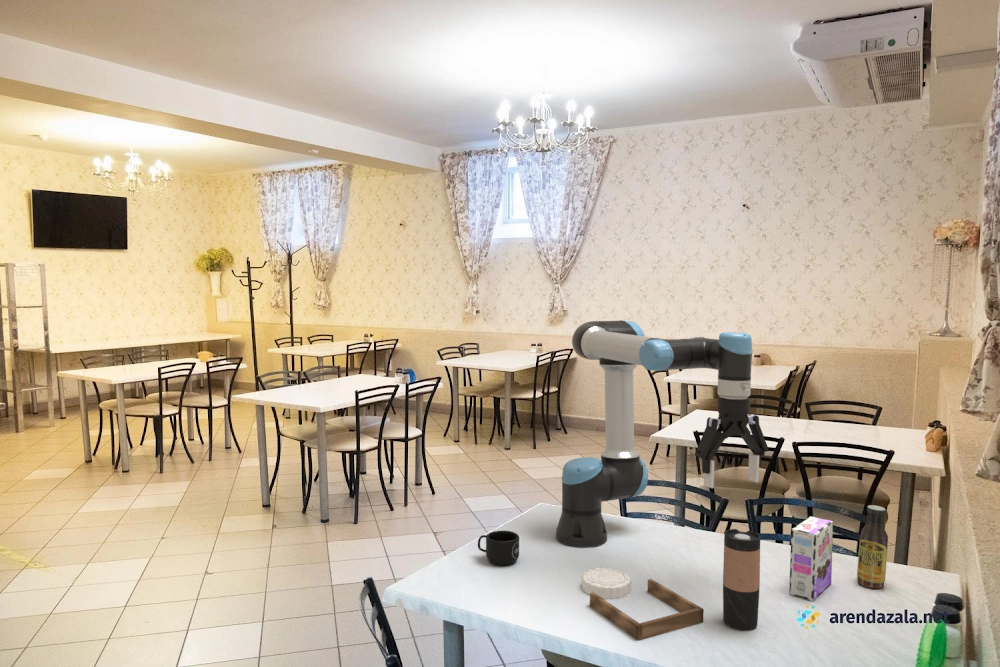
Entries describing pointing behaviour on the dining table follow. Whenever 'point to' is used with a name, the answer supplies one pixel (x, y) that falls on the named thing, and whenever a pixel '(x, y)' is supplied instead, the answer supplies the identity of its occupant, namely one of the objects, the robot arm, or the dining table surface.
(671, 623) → the wooden u-shaped frame
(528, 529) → the dining table surface
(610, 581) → the mooncake
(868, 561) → the sauce bottle
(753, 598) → the travel mug
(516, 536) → the mug
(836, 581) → the dining table surface
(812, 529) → the candy box
